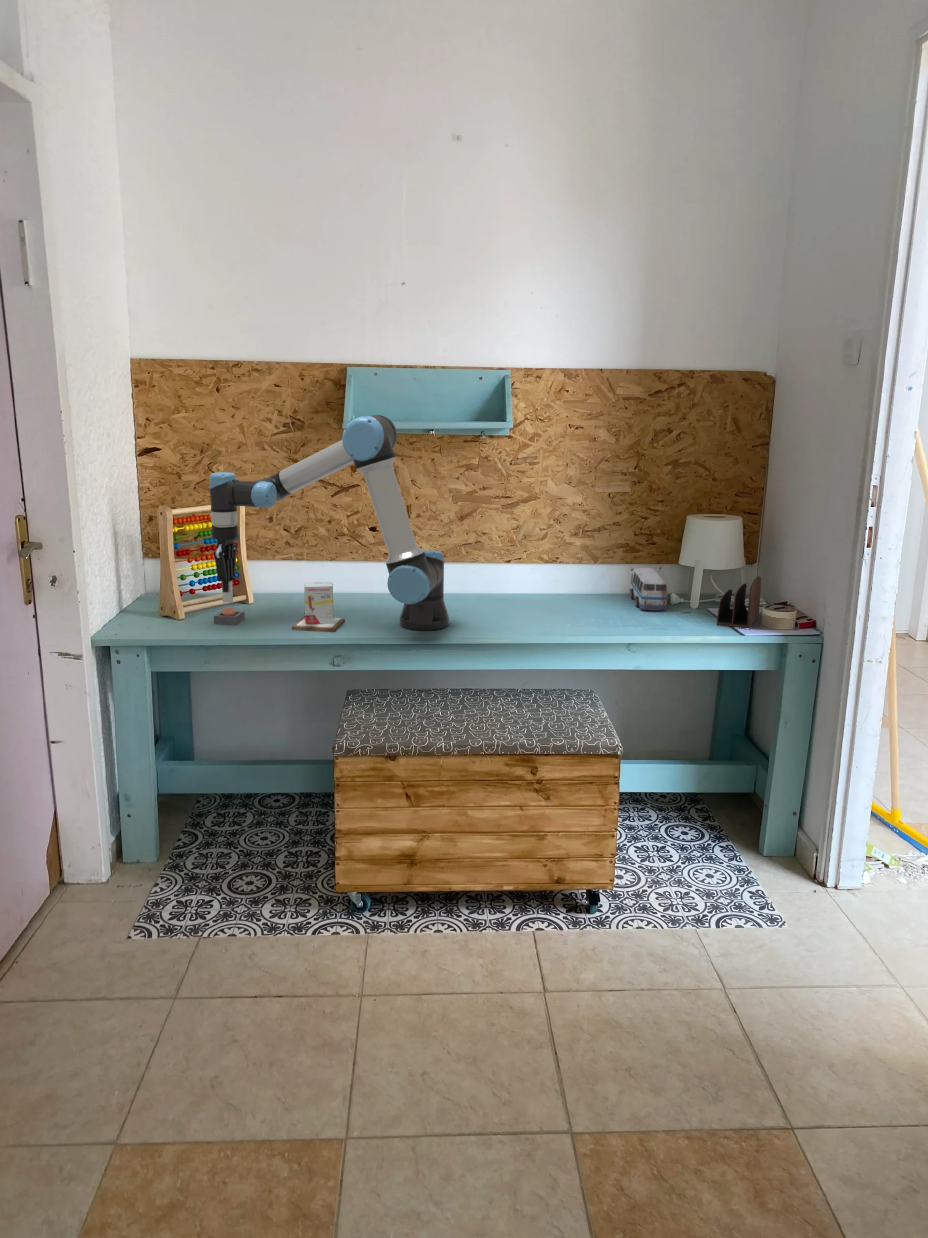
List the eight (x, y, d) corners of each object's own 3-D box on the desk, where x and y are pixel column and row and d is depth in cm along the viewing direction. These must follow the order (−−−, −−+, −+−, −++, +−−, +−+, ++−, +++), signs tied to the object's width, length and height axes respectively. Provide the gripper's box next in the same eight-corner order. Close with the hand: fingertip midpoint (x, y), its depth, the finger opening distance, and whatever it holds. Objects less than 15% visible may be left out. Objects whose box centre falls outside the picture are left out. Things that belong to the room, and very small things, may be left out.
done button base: (244, 619, 282) (244, 611, 281) (236, 625, 275) (235, 617, 275) (223, 618, 283) (222, 610, 282) (213, 623, 276) (213, 615, 276)
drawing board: (345, 621, 281) (345, 617, 281) (334, 632, 270) (334, 628, 270) (304, 619, 283) (304, 615, 283) (291, 629, 272) (291, 625, 271)
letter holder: (758, 615, 298) (763, 573, 294) (748, 630, 280) (753, 585, 277) (727, 611, 302) (731, 570, 298) (715, 625, 285) (719, 581, 281)
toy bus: (654, 594, 325) (656, 566, 322) (669, 613, 299) (671, 583, 296) (627, 593, 325) (628, 565, 323) (639, 612, 299) (641, 582, 296)
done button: (237, 615, 280) (237, 607, 280) (232, 618, 277) (232, 610, 276) (225, 614, 281) (225, 607, 280) (220, 617, 277) (220, 610, 276)
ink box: (305, 624, 273) (303, 585, 270) (304, 620, 278) (303, 582, 275) (333, 623, 275) (333, 585, 271) (333, 619, 279) (332, 581, 276)
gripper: (221, 521, 278) (224, 596, 284) (203, 527, 266) (207, 606, 272) (244, 522, 277) (247, 597, 283) (228, 529, 265) (231, 607, 271)
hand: (227, 601), depth 278 cm, fingers closed
